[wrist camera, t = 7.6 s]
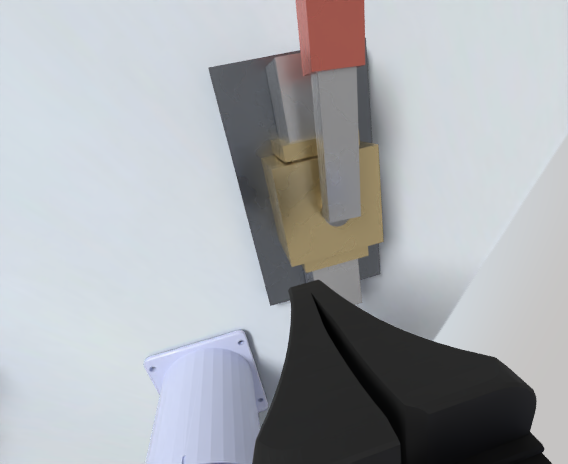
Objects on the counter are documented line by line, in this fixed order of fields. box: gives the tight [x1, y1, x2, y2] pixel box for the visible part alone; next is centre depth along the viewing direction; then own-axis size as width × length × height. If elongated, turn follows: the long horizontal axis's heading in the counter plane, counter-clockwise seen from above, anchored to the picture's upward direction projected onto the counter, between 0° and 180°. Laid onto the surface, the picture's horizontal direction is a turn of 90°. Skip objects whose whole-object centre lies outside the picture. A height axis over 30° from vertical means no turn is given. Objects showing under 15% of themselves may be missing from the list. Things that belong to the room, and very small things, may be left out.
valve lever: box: [296, 0, 365, 227], centre depth 13 cm, size 11×2×2 cm, turn 8°
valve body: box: [209, 38, 383, 306], centre depth 18 cm, size 16×9×5 cm, turn 11°
